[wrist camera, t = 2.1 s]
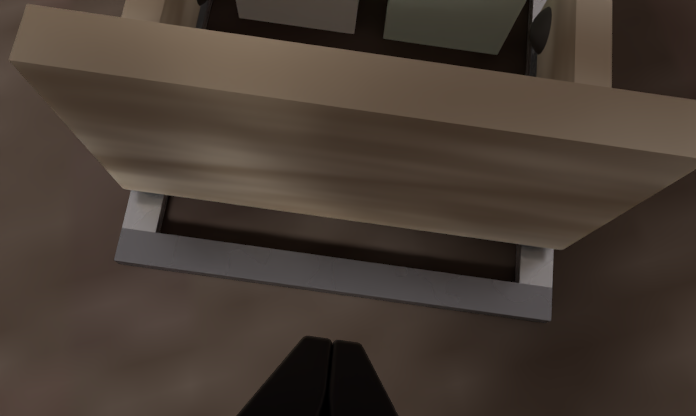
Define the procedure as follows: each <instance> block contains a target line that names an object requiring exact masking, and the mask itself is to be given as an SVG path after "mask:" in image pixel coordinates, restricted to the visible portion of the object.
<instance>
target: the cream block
mask: <svg viewBox="0 0 696 416" xmlns="http://www.w3.org/2000/svg"><path fill="white" fill-rule="evenodd" d="M358 4H359V0H236V5H237V10H238V15H239V18H243V19H250V20H257V21H264V22H271V23H278V24H286V25H293V26H300V27H307V28H314V29H321V30H328V31H335V32H342V33H349V34H354V32H355V25H356V18H357V11H358Z"/></svg>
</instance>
